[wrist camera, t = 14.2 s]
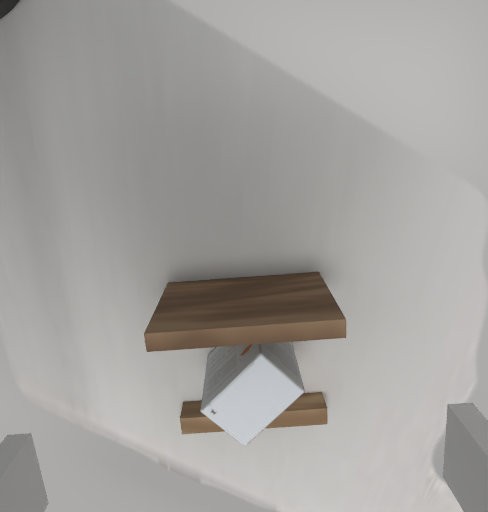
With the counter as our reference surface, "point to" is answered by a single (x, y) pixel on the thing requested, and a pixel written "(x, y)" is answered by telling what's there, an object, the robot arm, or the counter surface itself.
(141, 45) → the counter surface
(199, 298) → the board
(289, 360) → the small box
